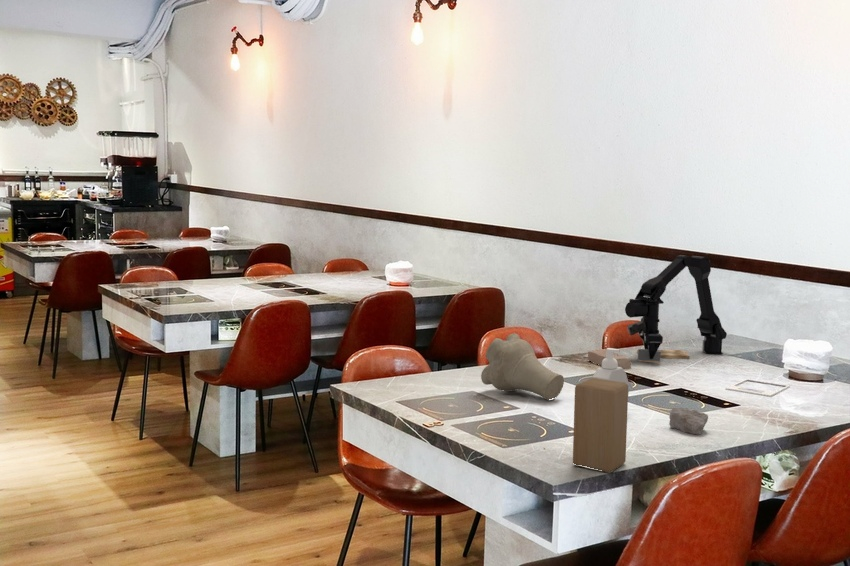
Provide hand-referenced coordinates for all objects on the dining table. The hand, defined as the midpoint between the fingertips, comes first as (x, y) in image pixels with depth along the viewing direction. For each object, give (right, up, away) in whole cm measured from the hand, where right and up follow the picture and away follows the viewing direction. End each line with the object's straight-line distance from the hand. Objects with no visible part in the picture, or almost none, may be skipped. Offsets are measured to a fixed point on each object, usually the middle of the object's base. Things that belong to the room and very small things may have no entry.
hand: (649, 356), depth 336 cm
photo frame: (+25, -8, -43) cm, 51 cm away
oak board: (+8, 0, +10) cm, 12 cm away
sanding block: (0, -2, 0) cm, 2 cm away
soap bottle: (-32, -11, -80) cm, 87 cm away
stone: (-13, -13, -93) cm, 95 cm away
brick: (-17, -3, -9) cm, 19 cm away
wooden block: (-43, -16, -123) cm, 132 cm away
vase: (-53, -8, -57) cm, 78 cm away
